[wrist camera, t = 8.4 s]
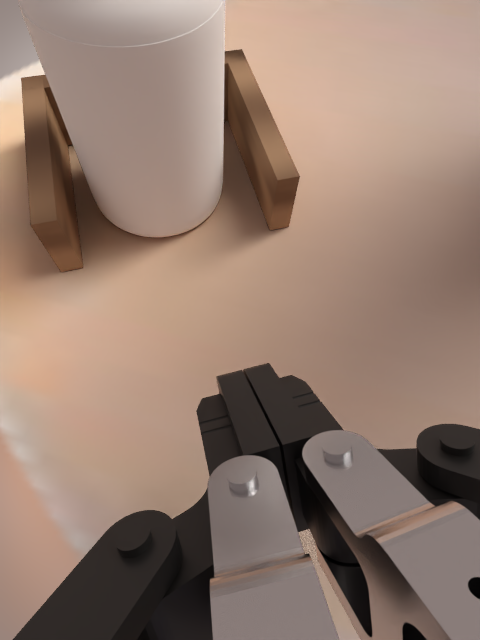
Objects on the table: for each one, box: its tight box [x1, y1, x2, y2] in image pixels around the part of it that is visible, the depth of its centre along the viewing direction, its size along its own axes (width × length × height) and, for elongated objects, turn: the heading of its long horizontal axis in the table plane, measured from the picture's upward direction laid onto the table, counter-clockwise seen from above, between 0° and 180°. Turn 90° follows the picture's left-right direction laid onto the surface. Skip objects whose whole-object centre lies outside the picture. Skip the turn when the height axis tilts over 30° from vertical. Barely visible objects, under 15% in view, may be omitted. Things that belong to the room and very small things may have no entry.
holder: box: [21, 49, 300, 272], centre depth 24 cm, size 11×13×4 cm
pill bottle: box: [18, 0, 225, 237], centre depth 19 cm, size 8×8×15 cm
